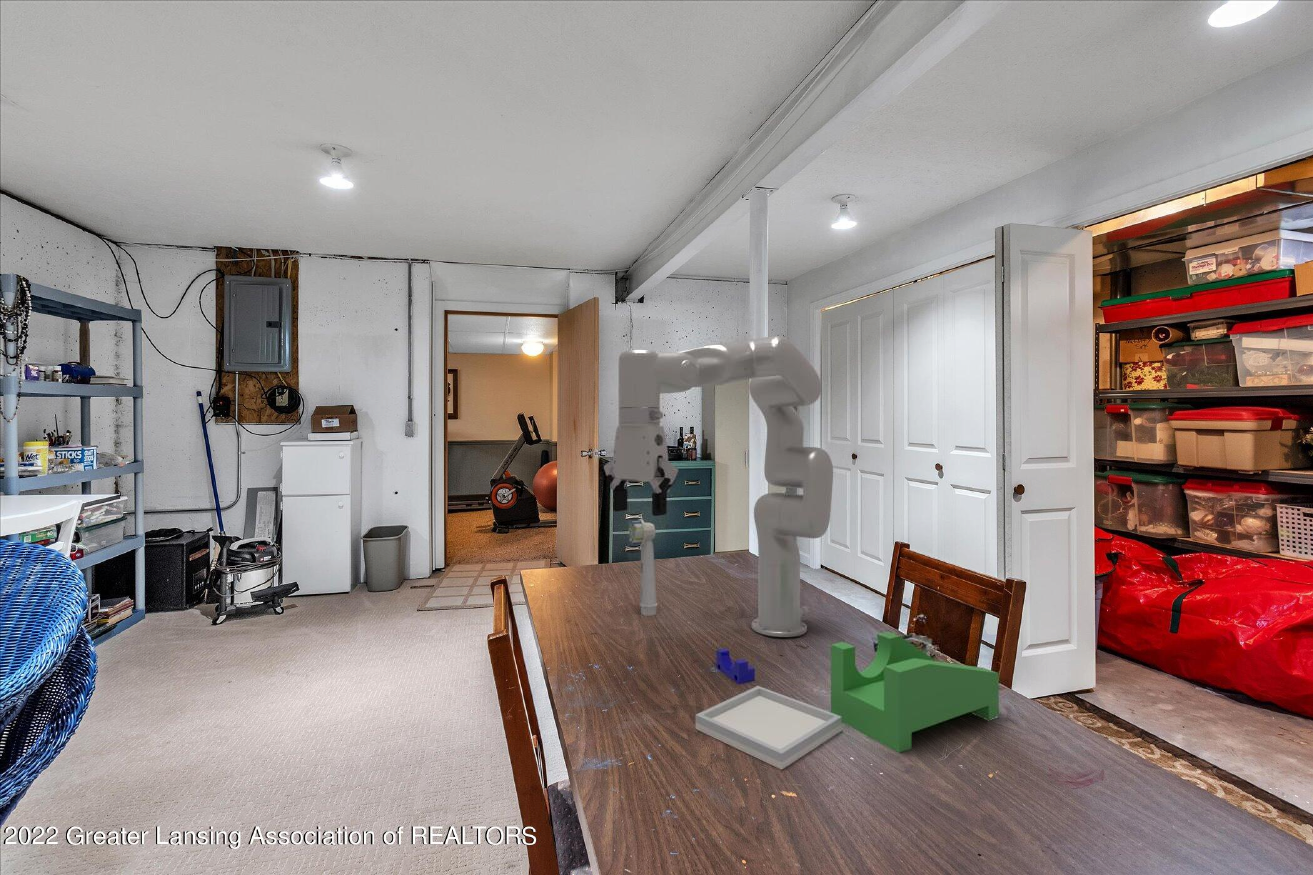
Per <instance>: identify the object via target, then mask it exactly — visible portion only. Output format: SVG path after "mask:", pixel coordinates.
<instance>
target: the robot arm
mask: <svg viewBox="0 0 1313 875" xmlns="http://www.w3.org/2000/svg"><path fill="white" fill-rule="evenodd" d="M746 380H749V385H748V386H749V387H748V388H749V393H750V394H749V395H750V396H751V399H752V400H753V402H754V403H755V404H756V406H757V407H758V408H759V410H760V412H761V414H762V415H763V418H764V421H765V423H766V425H765V426H766V440H765V441H766V442H765V443H766V444H765V452H764V453H765V454H764V455H765V456H764V468H763V470H764V478H765V480H766V482H767V483H769V484H770V485H772V486H774V487H779V488H788V489H790V488H791V489H802V494H799V493H798V494H796V493H785V492H769V493H765V494H763V495H761V496H759V497H758V499H757V500H756V502H755V505H754V507H753V520H754V524H755V530H756V535H757V536H756V537H757V547H758V548H757V549H758V551H757V552H758V553H757V554H758V562H757V568H758V570H757V573H758V575H757V576H758V577H757V579H758V582H757V586H758V589H757V590H758V591H757V592H758V593H757V594H758V595H757V596H758V599H757V600H758V601H757V602H758V604H757V605H758V608H757V609H758V611H757V613H758V614H757V616H758V617H757V618H755V619H752V621H751V628H752V630H753V631H754V632H756V633H758V634H761V635H764V636H768V637H775V638H776V637H777V638H793V637H799V636H802V635H804V634H805V633H806V632H807V631H808V626H807V624H806V622H804V621H802V617H803V616H805V615H807V614H809V613H810V609H809V607H808V606H807V605H804V606H801V554H800V549H799V546H798V544H797V542H796V540H795V539H794V537H796V538H797V537H798V538H805V539H819V538H821V537H823V536H824V535H825V534H826V533H827V530H828V528H829V526H830V521H831V520H830V519H831V511H832V495H833V482H834V467H833V466H834V465H833V462H832V459H831V456H830V454H829V453H828V452H827V451H826V450H825V449H823V448H820V447H817V446H804V434H805V433H804V429H805V428H804V423H803V420H802V418H801V416H800V415H799V413H798V411H796V409H795V408H794V407H805V406H810V405H813V404H814V403H816V402H817V401H818V400H819V398H820V396H821V392H822V381H821V378H820V376H819V374H818V372H817V370H816V369H815V368H814V367H813V365H812V364H811V362H810V361H809V360H808V359H807V358H806V356H805V355H804V354H803V353H802V352H801V350H800V349H799V348H798V347H797V346H796V345H795V344H794V343H793V342H792V341H790V340H789V339H787V338H786V337H784V336H781V335H773V336H765V337H759V338H752V339H746V340H745V339H743V340H739V341H738V340H737V341H732V342H731V341H730V342H722V343H714V344H710V345H703V346H700V347H699V346H698V347H695V348H690V349H688V350H683V351H675V352H656V351H653V350H650V349H628V350H624V351H622V352H620V354H619V356H618V426H617V427H616V431H615V436H614V437H615V438H614V445H613V459H612V460H610V461H608V462H607V463H606V464H604V466H603V469H604V472H605V476H606V480H607V481H608V484H610V485H609V486H610V489H611V490H612V503H613V504H612V511H613V512H622V511H623V512H624V511H627V510H628V489H627V488H626V486H627V485H628V483H629V481H631V482H645V483H646V482H648V483H649V484H650V485H651V487H652V489H653V490H654V492H652V494H651V514H652V515H653V517H657V516H658V517H659V516H664V515H667V506H668V504H667V501H668V500H667V497H668V496H667V494H668V493H669V492H670V490H671V488H672V487H673V485H674V483H675V479H677V478H676V477H677V475H678V472H679V468H678V467H677V466H675V465H674V464H672V463H671V462H670V461H669V455H668V443H667V438H666V431H665V427H664V426H663V425H662V426H661V419H663V417H664V413H663V412H662V411H661V404H660V403H661V398H660V397H661V396H660V395H661V394H675V393H677V394H678V393H683V392H686V391H689V390H690V389H692V388H708V387H709V388H710V387H715V386H717V387H718V386H723V385H726V384H731V383H732V384H733V383H736V382H740V381H746Z"/></svg>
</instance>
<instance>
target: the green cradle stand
mask: <svg viewBox="0 0 1313 875" xmlns="http://www.w3.org/2000/svg"><path fill="white" fill-rule="evenodd" d="M876 635H877V636H876V638H878V641H877V643H878V648H877V652H875V656H874V658H873V660H872V662H871V663H870V664H869V665H868V667H867V668H864V669H863V670H861V671H859V669H858V668H857V665H856V646H855V645H852V644H849V643H847V642H845V641H840V642H836V643H832V644H830V712H831V713H833V714H836V715H839V716H842V724H845V725H847V726H849V727H851V728H853V729H855V730H857V731H858V732H860V733H862V734H864V735H866V736H867V737H869V738H871V739H873V740H875V741H877V742H878V743H881V744H882V745H883V746H886V747H887V748H889V749H891V750H893V751H895V752H897V753H899V754H900V753H902V752H905V751H908V750H911V749H912V733H914V732H918V731H920V730H923V729H926V728H929V727H932V726H935V725H938V724H939V723H940V724H941V723H942V722H946V721H949V720H951V719H954V718H957V717H960V716H963V715H966V714H969V713H971V712H972V713H974V714H976V715H979V716H981V717H982V718H986V719H987V720H991V719H992V718H995V717H996V716H999V717H1000V701H999V700H1000V694H999V692H1000V689H999V688H1000V686H999V685H1000V683H999V682H1000V673H999V672H997V671H993V670H991V669H988V668H985V667H980V666H975V665H974V666H973V665H967V664H958V663H953V662H951V663H950V662H945V661H937V660H935V659H934V658H932V657H931V656H928V655H927V654H925V653H924V652H922V651H921V650H920V649H918V648H917V647H915V646H914V645H912V644H911V643H910V642H911V641H907V640H905V639H904V638H902V637H903V636H901V635H899V634H895V633H893V632H889V631H885V632H881V633H876ZM972 713H971V714H972ZM976 715H975V716H976ZM982 718H981V719H982Z"/></svg>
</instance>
